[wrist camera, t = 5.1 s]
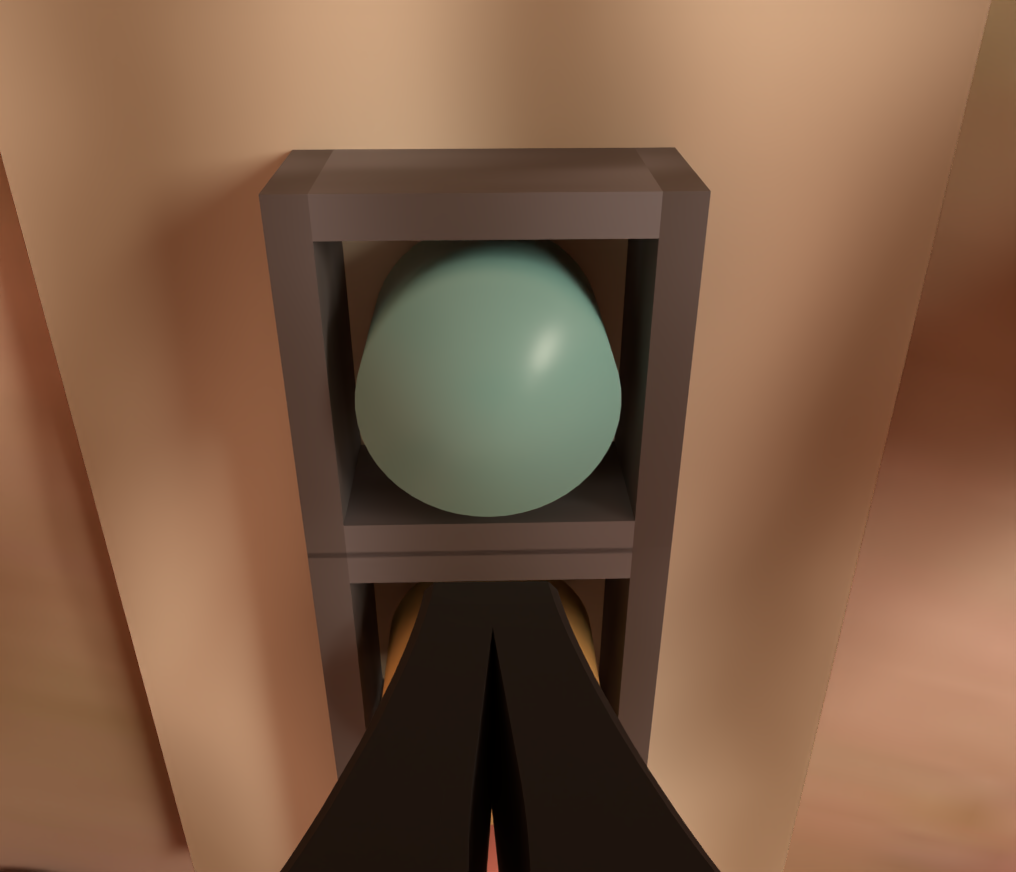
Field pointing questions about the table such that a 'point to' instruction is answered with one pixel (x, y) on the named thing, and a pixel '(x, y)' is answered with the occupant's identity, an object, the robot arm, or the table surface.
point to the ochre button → (412, 600)
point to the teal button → (487, 376)
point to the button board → (481, 216)
